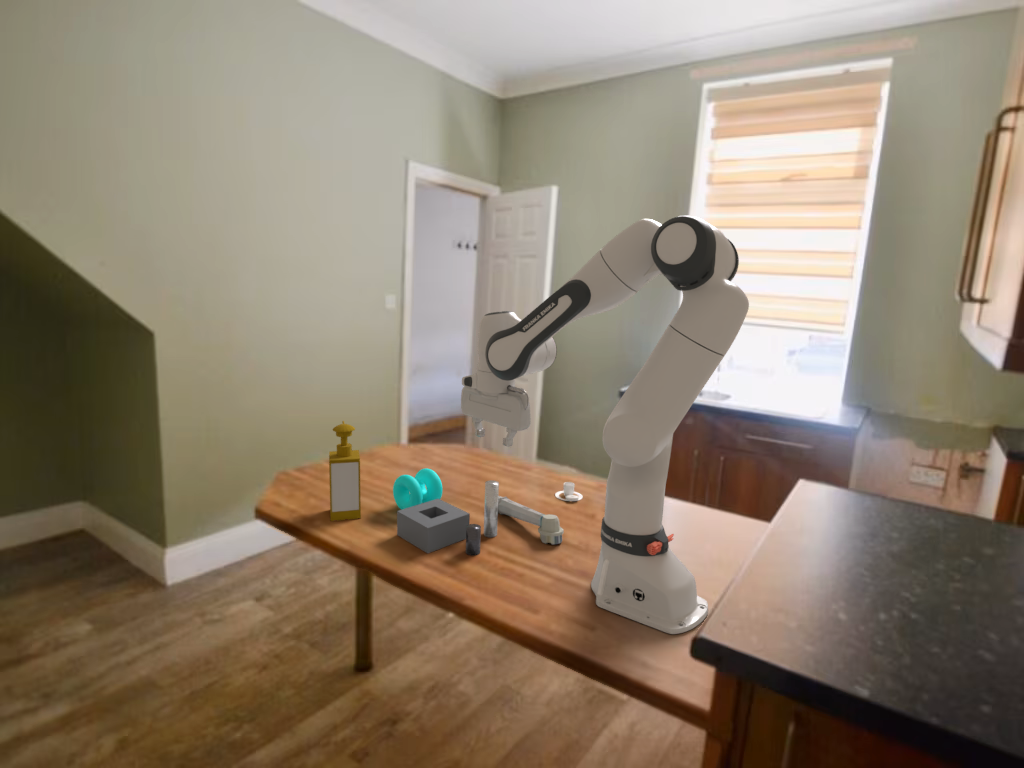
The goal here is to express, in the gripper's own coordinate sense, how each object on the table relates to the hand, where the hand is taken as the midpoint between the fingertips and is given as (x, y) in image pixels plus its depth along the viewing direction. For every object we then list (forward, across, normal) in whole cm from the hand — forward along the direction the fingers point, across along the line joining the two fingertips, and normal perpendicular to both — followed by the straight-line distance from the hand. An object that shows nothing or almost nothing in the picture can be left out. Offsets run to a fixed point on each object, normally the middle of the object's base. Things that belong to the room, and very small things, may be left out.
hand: (493, 440), depth 129 cm
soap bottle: (+24, +35, +19) cm, 46 cm away
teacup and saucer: (+24, +4, -31) cm, 39 cm away
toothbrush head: (+24, -2, -10) cm, 26 cm away
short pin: (+23, -4, +9) cm, 25 cm away
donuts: (+24, +24, +4) cm, 34 cm away
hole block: (+23, +8, +11) cm, 27 cm away
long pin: (+23, 0, 0) cm, 23 cm away
